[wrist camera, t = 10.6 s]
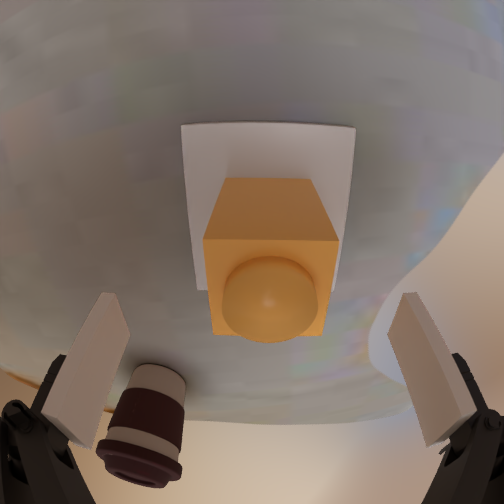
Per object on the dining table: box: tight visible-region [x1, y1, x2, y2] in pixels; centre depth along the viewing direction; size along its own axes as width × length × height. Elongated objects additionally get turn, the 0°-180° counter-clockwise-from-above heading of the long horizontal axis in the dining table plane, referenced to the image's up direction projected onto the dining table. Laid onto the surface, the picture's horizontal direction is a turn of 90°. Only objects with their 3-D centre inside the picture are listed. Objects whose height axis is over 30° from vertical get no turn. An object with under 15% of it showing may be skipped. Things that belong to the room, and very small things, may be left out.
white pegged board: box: [181, 121, 356, 292], centre depth 20 cm, size 12×14×7 cm
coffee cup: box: [96, 364, 186, 488], centre depth 29 cm, size 10×10×15 cm
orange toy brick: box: [202, 178, 339, 343], centre depth 18 cm, size 6×6×10 cm
